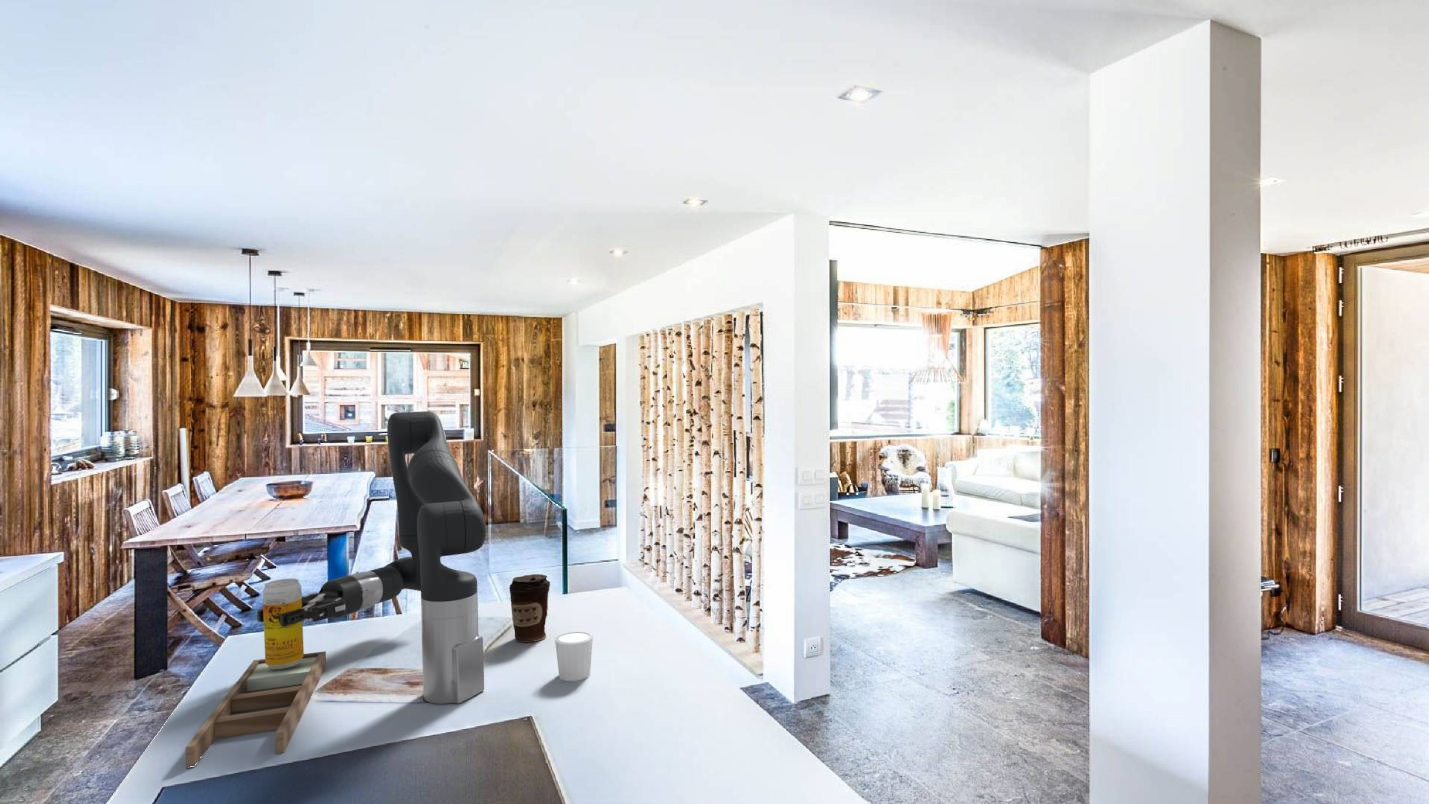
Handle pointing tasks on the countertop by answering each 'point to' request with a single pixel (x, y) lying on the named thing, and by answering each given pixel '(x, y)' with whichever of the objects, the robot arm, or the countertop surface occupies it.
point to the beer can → (280, 640)
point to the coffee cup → (529, 606)
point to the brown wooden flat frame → (262, 704)
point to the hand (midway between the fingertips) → (270, 618)
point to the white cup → (574, 655)
